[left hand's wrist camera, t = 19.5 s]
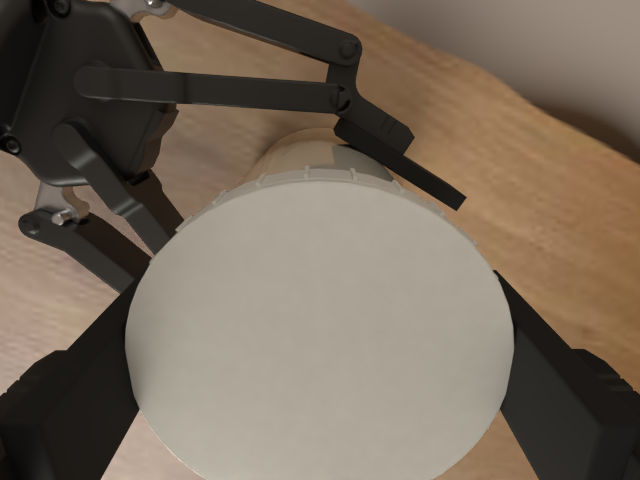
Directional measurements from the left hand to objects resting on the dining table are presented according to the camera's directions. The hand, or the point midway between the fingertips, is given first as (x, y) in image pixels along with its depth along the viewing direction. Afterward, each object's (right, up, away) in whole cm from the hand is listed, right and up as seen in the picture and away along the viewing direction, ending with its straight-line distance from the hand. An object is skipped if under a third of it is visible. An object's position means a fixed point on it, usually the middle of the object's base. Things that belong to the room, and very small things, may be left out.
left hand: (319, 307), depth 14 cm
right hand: (+4, 0, +8) cm, 9 cm away
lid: (0, -1, -3) cm, 3 cm away
